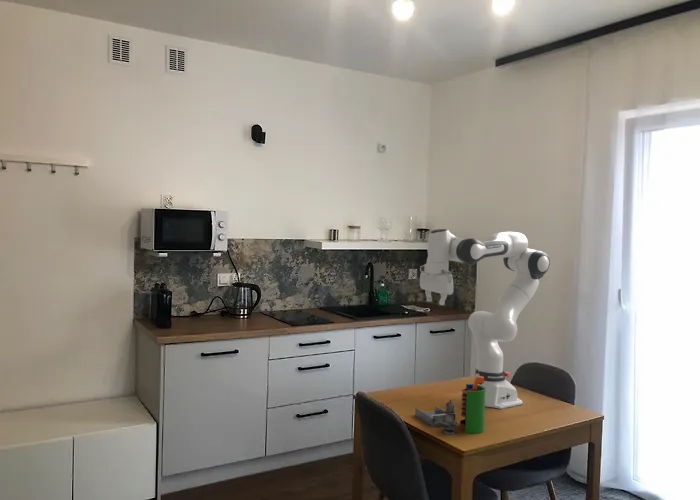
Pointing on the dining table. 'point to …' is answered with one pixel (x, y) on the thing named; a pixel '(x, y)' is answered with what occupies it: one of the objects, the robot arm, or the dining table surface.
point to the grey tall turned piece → (449, 419)
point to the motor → (473, 407)
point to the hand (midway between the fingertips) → (435, 303)
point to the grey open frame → (432, 416)
